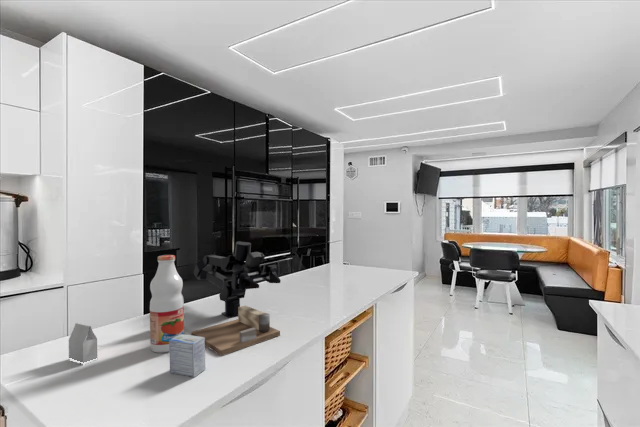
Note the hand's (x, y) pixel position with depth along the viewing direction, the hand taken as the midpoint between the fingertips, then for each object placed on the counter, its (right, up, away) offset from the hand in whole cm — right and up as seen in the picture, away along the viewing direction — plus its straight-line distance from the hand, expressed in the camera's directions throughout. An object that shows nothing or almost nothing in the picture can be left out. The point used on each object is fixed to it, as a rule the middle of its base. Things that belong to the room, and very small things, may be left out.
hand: (269, 284), depth 112 cm
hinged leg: (-5, -14, -1) cm, 15 cm away
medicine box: (-17, -17, -29) cm, 37 cm away
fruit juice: (-29, -17, -13) cm, 36 cm away
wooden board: (-11, -16, -5) cm, 20 cm away
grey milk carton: (-49, -17, -22) cm, 56 cm away
